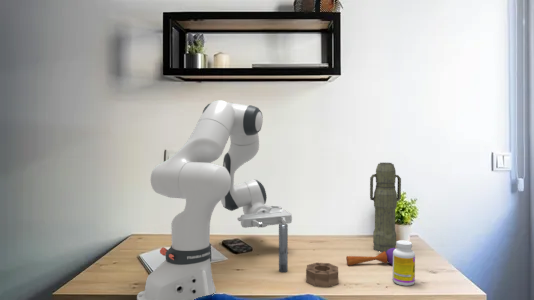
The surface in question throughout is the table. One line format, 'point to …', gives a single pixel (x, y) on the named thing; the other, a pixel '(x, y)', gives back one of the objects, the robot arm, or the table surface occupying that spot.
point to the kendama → (372, 258)
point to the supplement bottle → (404, 263)
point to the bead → (322, 274)
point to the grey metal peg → (283, 247)
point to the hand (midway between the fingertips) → (272, 224)
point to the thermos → (385, 206)
